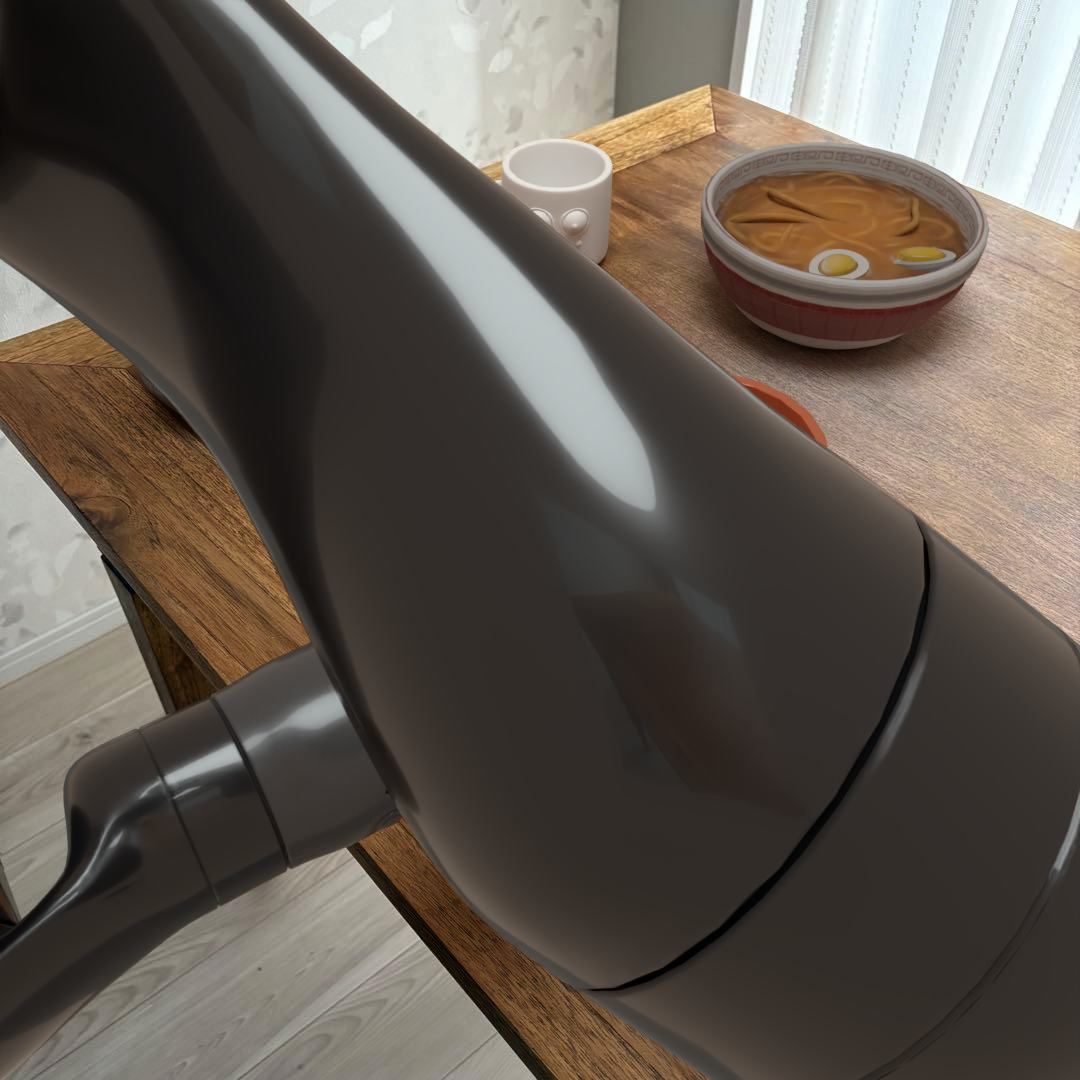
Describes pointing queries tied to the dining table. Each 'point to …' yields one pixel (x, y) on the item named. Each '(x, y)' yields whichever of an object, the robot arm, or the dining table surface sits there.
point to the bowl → (839, 241)
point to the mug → (564, 189)
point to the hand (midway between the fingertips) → (709, 556)
